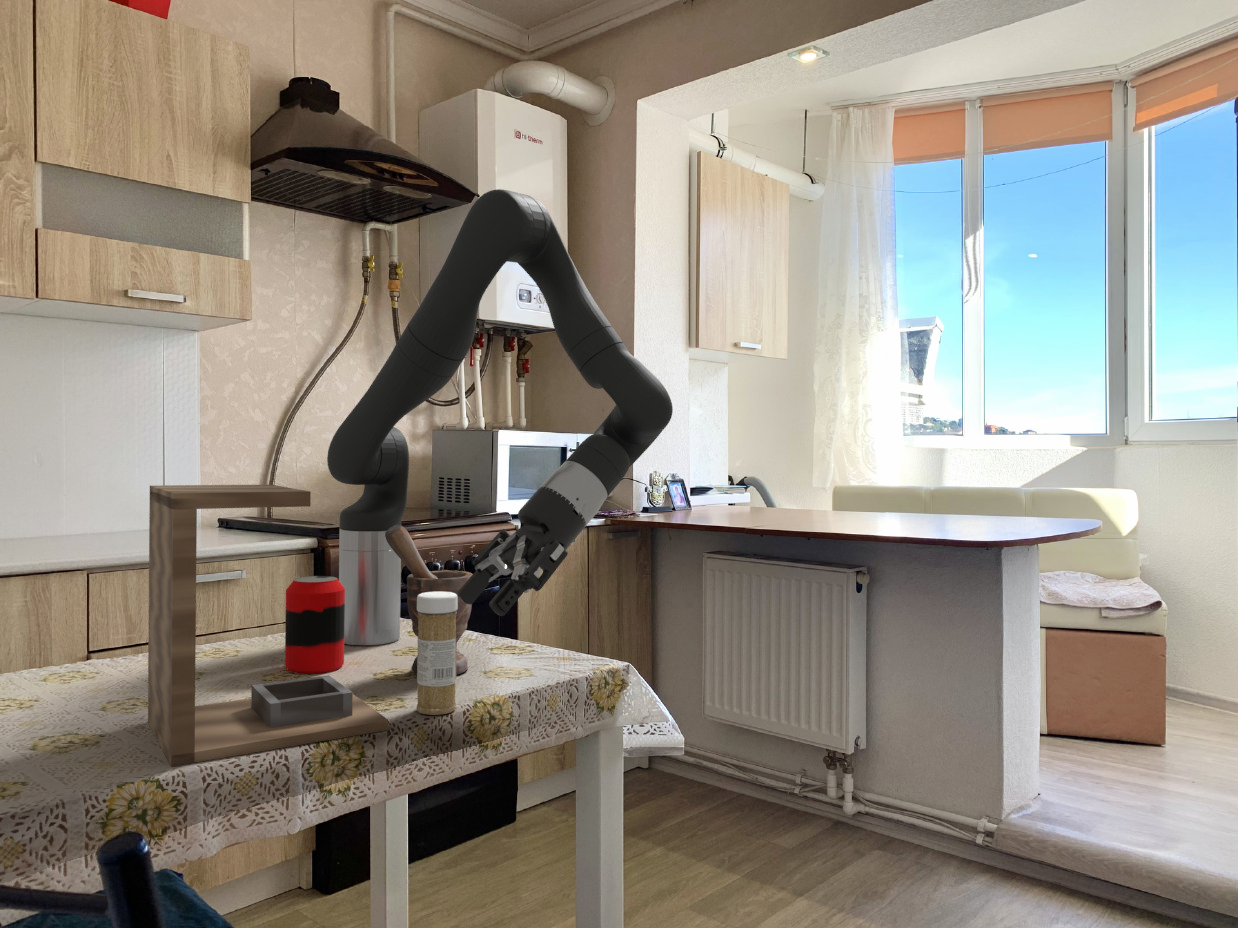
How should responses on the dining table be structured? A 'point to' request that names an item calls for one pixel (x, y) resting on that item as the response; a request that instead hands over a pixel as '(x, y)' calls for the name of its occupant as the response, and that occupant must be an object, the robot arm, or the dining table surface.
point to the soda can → (314, 625)
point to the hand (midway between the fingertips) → (478, 605)
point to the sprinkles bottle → (436, 652)
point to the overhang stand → (172, 715)
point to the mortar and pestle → (429, 586)
